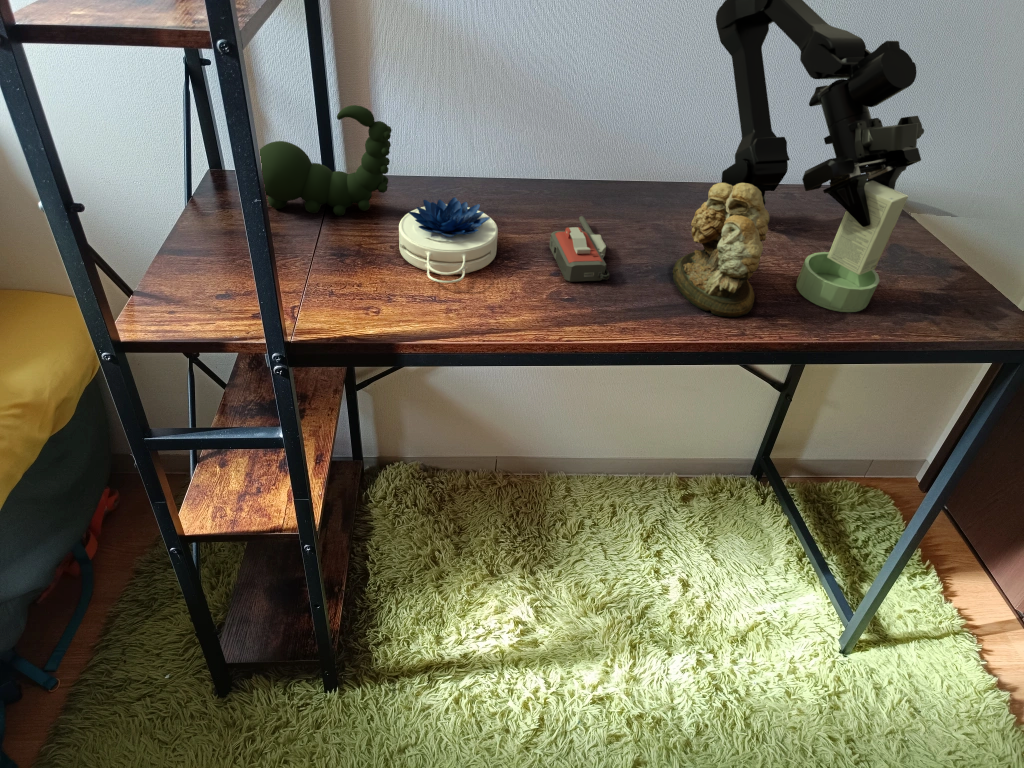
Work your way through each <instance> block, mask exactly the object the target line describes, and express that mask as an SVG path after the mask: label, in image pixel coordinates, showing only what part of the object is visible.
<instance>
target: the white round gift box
mask: <svg viewBox="0 0 1024 768" xmlns="http://www.w3.org/2000/svg"><path fill="white" fill-rule="evenodd" d="M422 202H423V206H421V207H420V206H416V208H415V209H413V210H411V211H408V212H407V213H406V214H404V216H403V217H402V218H401V219H400V221H399V224H398V243H399V244H398V247H399V248H398V249H399V253H400V254H401V256H402V258H403V259H404V260H405V261H406V262H408V263H409V264H410V265H412V266H413V267H415V268H417V269H419V270H423V271H425V272H426V276H427V278H428V279H429V280H430V281H432V282H435V283H440V284H454V283H455V284H456V283H459V282H462V280H463V279H464V278H465V277H466V276H465V275H466V274H470V273H473V272H477V271H479V270H482V269H483V268H485V267H487V266H488V265H490V264H491V263H492V262H493V261H494V260H495V257H496V255H497V251H498V250H497V248H498V237H499V236H498V235H499V228H498V225H497V223H496V222H495V221H494V219H493V218H491V217H490V216H489V215H487V214H486V213H484V211H481V210H479V209H480V206H481V204H479V203H478V204H475V205H473V206H471V207H470V206H469V204H468V202H467V201H463V202H462V203H461V201H460V200H458V199H457V197H452V198H451V199H450V200H449V202H448V203H445V202H444V201H443V200H442V199H438V200H437V203H436V202H434V201H431V202H430V201H429V200H427V199H423V200H422ZM430 273H433V274H437V275H441V276H452V275H461V277H459V278H457V279H453V280H452V279H451V280H441V279H437V278H434V277H432V276H431V274H430Z"/></svg>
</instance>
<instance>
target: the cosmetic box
mask: <svg viewBox="0 0 1024 768" xmlns="http://www.w3.org/2000/svg"><path fill="white" fill-rule="evenodd" d="M864 190H865V195H866V200H867V205H868V210H869V215H870V225H869V226H866V227H862V226H861V225H860V224H859V223H858V222H857V221H856V220H855V219H854V217H853V216H852V215H851V214H850V213H849V212H848V211H847V210H846V209H845V212H844V215H843V216H842V220H841V221H840V224H839V227H838V229H837V231H836V234H835V237H834V239H833V242H832V244H831V246H830V249H829V251H828V252H829V254H828V256H827V258H829V259H831V260H832V261H834V262H836V263H838V264H840V265H841V266H843V267H845V268H847V269H849V270H850V271H852V272H854V273H856V274H858V275H861V274H864V273H866V272H868V271H871V270H873V269H874V270H875V269H877V266H878V264H879V261H880V259H881V257H882V255H883V253H884V251H885V248H886V246H887V245H888V243H889V240H890V238H891V236H892V233H893V231H894V230H895V227H896V225H897V223H898V220H899V218H900V216H901V214H902V211H903V209H904V207H905V205H906V203H907V201H908V198H909V195H907V194H904V193H903V192H900V191H898V190H896V189H891V188H889V187H887V186H884V185H882V184H880V183H878V182H875V181H869V182H866V184H865V186H864Z"/></svg>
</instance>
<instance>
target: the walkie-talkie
mask: <svg viewBox="0 0 1024 768" xmlns="http://www.w3.org/2000/svg"><path fill="white" fill-rule="evenodd" d="M578 221H579V223H580V225H581V226H582V228H581V227H579V226H576V227H575V226H574V227H573V226H572V227H565V230H555V231H552V232H551V233H550V238H549V249H550V251H551V253H552V255H553V257H554V259H555V262H556V264H557V266H558V268H559V270H560V272H561V275H562V276H563V278H564V280H565V281H567V282H570V283H575V282H579V283H580V282H600V281H602V280H604V281H606V280H609V279H610V272H609V270H608V268H607V262H605V260H604V257H605V256H606V250H607V245H606V243H605V242H604V240H603V238H602V237H603V236H602V235H601V234H596V233H594V232H593V230H592V228H591V226H590V225H589V223H588V221H587V219H586V218H585V216H584V215H580V216H579V217H578Z"/></svg>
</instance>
